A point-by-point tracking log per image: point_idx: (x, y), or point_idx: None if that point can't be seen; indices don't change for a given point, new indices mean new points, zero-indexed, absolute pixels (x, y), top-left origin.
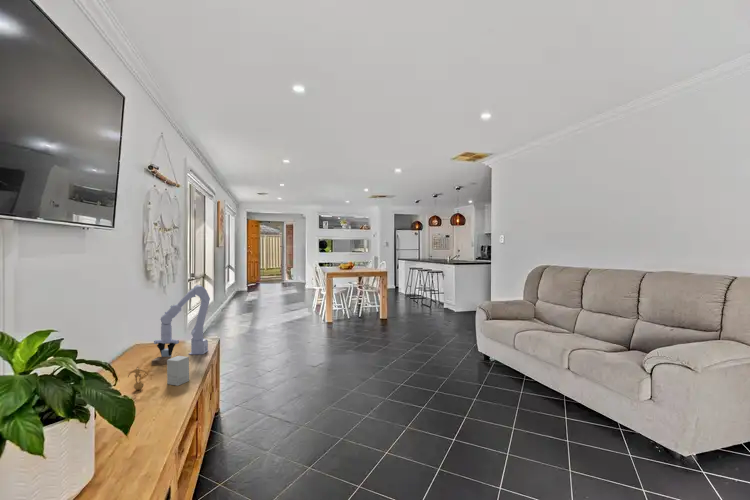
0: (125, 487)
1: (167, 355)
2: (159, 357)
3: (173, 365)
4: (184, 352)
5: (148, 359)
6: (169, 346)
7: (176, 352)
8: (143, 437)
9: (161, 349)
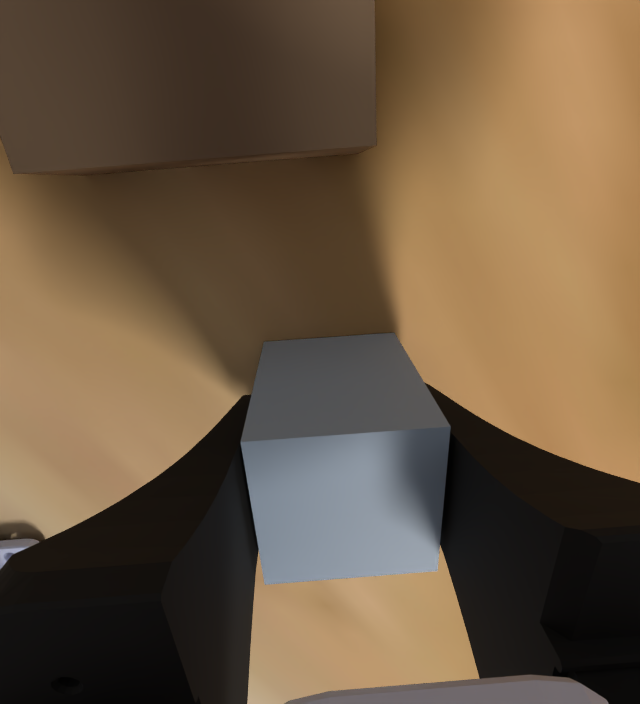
0: None
1: (267, 366)
2: (288, 54)
3: None
4: None
5: (628, 253)
6: (104, 545)
7: (324, 599)
8: None
9: (466, 458)
